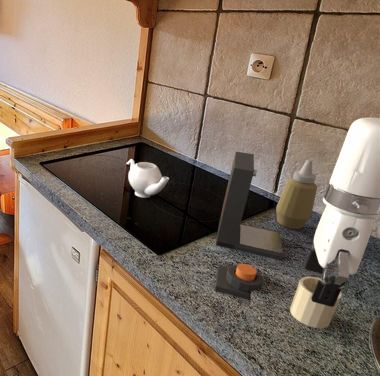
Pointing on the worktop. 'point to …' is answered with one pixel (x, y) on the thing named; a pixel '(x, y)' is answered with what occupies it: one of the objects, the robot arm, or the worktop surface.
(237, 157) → the coffee maker
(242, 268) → the button
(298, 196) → the squeeze bottle
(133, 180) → the teapot
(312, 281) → the cup
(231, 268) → the dark grey button base
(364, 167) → the robot arm
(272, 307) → the worktop surface
